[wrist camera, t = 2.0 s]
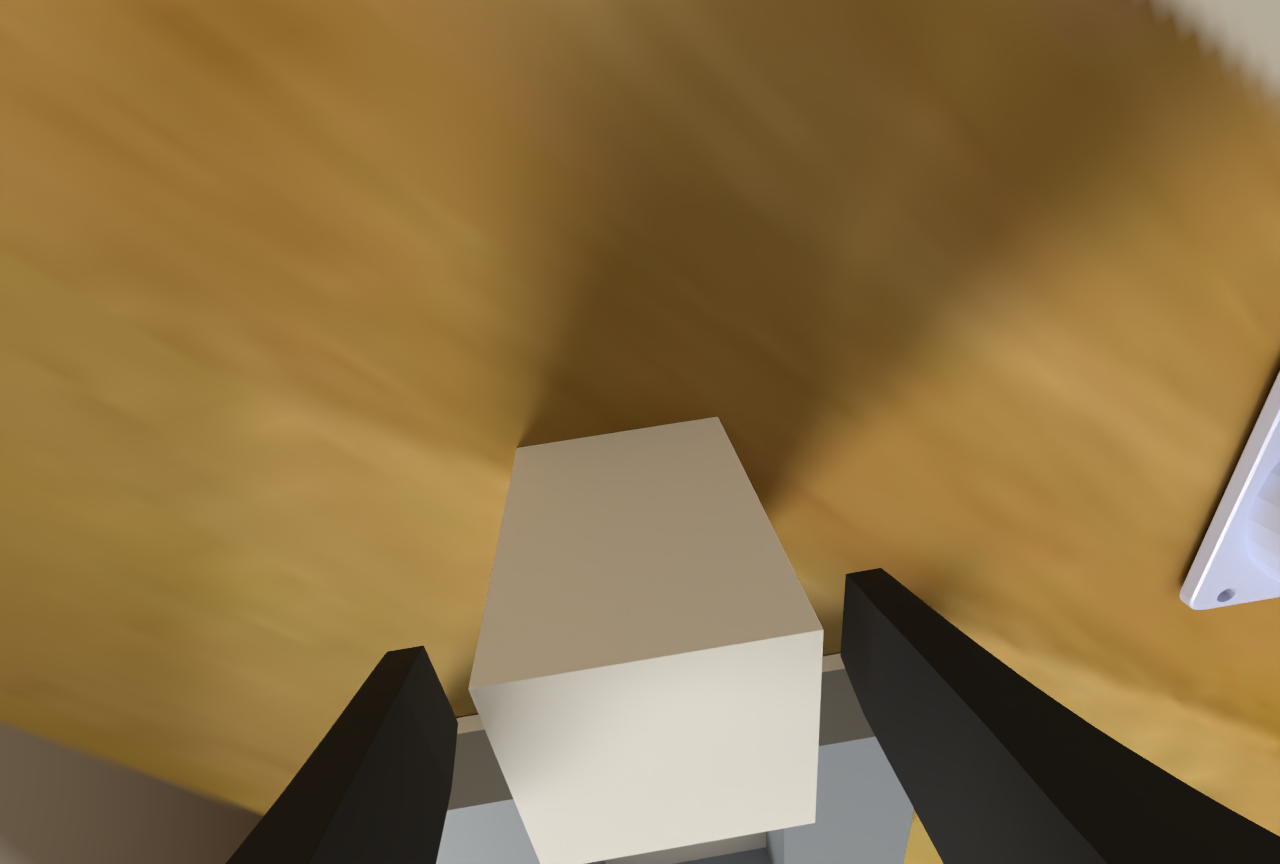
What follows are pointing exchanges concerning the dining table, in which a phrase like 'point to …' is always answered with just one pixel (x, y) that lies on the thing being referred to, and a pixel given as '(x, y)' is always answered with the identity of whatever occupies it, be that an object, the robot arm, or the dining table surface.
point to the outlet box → (773, 860)
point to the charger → (646, 649)
